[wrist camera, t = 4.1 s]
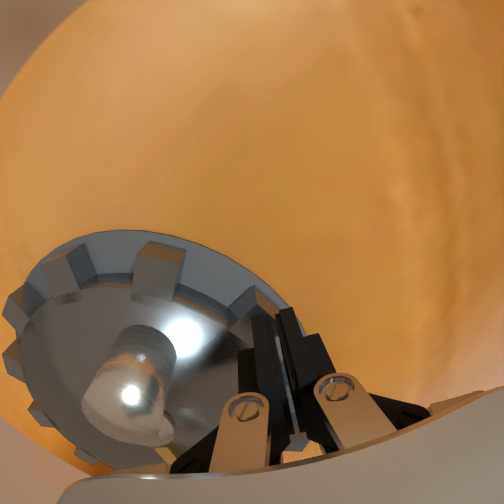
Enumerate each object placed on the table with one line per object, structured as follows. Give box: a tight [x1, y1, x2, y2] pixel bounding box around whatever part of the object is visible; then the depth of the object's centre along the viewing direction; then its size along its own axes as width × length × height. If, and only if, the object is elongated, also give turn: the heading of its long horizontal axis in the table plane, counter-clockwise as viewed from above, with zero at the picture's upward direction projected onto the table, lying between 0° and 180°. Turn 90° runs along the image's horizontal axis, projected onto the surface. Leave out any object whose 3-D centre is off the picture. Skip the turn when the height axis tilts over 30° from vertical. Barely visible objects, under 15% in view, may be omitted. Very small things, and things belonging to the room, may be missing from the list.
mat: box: [16, 230, 307, 413], centre depth 16 cm, size 21×21×1 cm
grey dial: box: [2, 240, 310, 470], centre depth 13 cm, size 20×20×6 cm
